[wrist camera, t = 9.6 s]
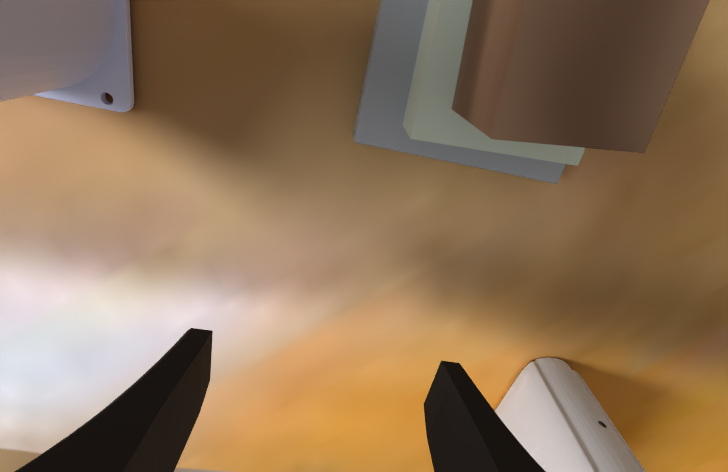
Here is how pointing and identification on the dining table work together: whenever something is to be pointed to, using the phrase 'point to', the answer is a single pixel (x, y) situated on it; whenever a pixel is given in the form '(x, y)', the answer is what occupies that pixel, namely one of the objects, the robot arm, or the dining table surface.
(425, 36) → the tower top slab
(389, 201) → the dining table surface
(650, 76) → the walnut cube
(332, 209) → the dining table surface
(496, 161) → the tower base slab
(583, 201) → the dining table surface
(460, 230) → the dining table surface
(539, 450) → the photo printer
